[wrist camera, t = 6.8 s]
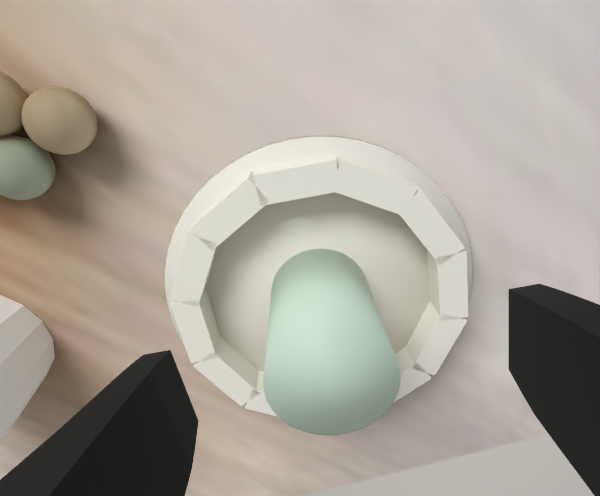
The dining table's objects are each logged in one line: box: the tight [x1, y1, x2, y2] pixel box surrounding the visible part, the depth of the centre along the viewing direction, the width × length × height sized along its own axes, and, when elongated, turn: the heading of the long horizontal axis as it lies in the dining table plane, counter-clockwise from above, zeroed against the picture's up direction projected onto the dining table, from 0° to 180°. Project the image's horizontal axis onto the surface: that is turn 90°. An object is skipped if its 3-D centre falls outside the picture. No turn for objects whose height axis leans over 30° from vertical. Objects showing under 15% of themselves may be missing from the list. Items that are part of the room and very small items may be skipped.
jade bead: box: [263, 249, 401, 435], centre depth 16 cm, size 4×4×6 cm
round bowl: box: [165, 136, 473, 417], centre depth 18 cm, size 14×14×2 cm
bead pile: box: [0, 71, 98, 200], centre depth 15 cm, size 6×5×2 cm
